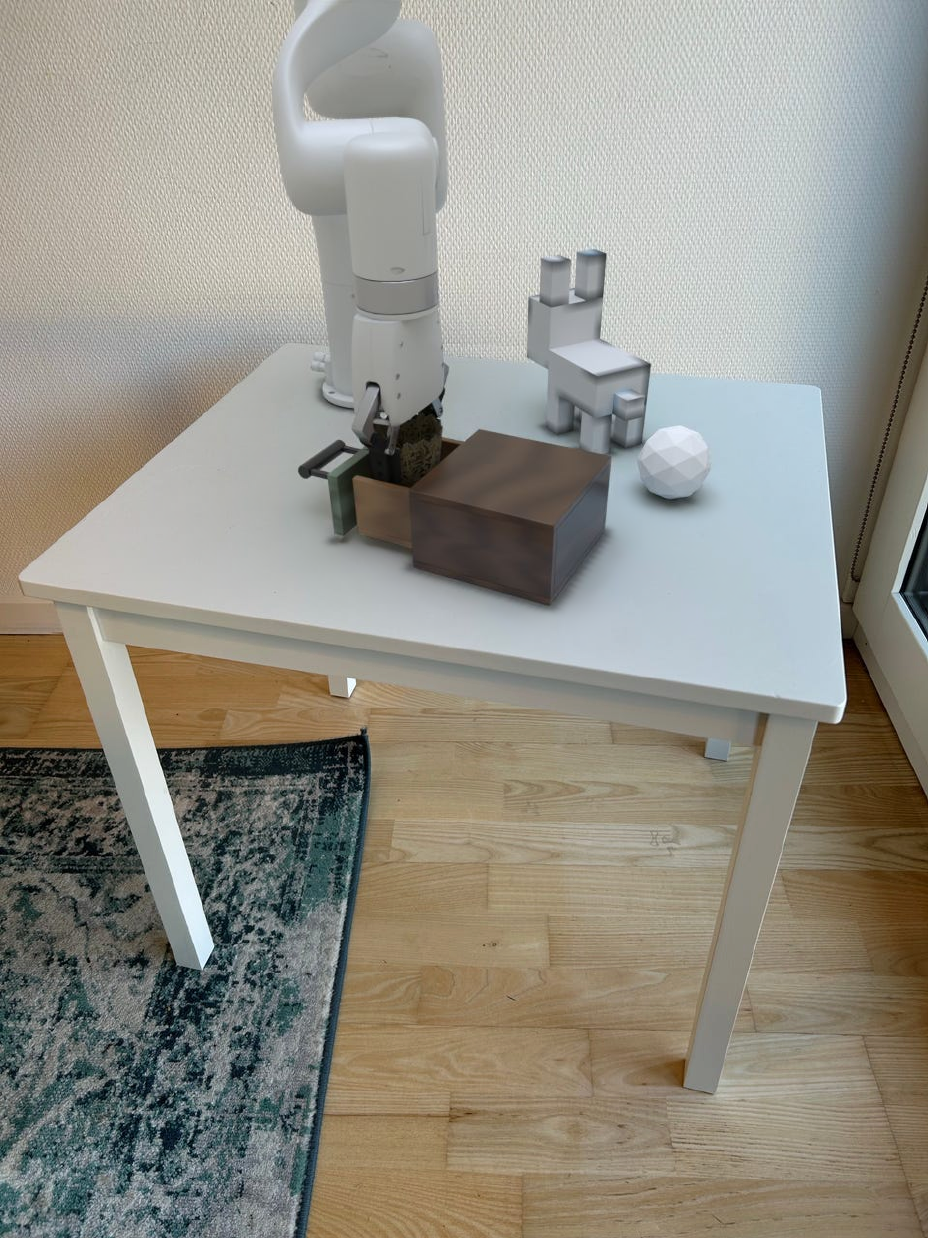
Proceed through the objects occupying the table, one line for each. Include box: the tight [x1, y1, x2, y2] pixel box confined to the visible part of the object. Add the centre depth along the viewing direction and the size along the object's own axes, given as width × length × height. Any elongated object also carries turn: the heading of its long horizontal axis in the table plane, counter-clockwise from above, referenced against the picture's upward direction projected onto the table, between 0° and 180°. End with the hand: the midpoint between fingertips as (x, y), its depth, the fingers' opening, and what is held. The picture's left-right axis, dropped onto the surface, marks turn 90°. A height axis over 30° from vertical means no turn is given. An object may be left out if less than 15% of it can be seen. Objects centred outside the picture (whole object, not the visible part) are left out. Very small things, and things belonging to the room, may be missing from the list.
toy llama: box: [526, 248, 652, 455], centre depth 103 cm, size 8×18×20 cm, turn 29°
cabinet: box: [408, 428, 612, 606], centre depth 85 cm, size 15×15×9 cm
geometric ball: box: [636, 424, 713, 500], centre depth 93 cm, size 8×8×8 cm
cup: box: [378, 412, 444, 488], centre depth 87 cm, size 8×7×8 cm
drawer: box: [297, 436, 465, 549], centre depth 90 cm, size 20×13×7 cm
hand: (407, 468), depth 88 cm, fingers closed on cup, 7 cm apart
